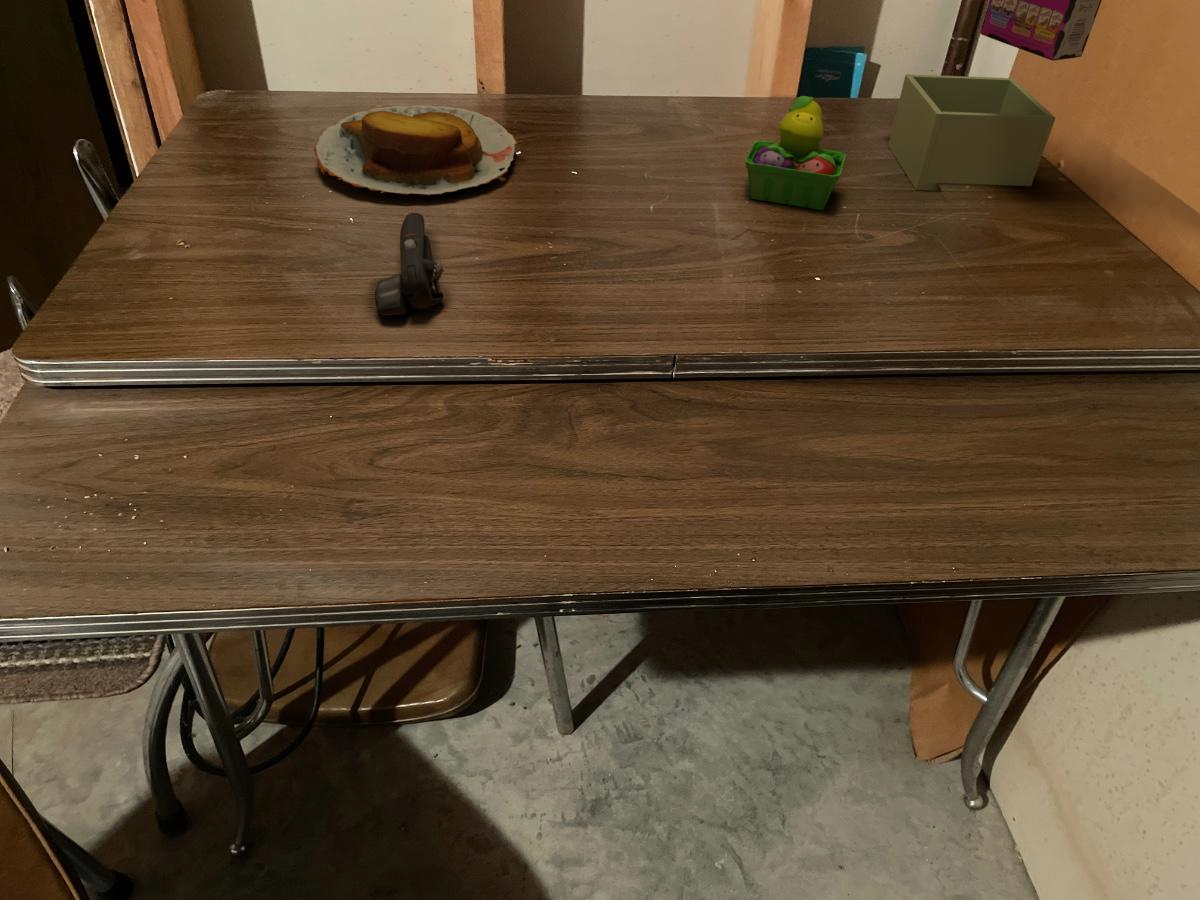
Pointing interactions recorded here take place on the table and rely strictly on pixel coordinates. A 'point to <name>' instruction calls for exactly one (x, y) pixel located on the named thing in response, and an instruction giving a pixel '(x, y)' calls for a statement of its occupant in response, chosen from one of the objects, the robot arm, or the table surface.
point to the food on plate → (415, 149)
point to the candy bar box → (1042, 25)
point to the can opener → (411, 273)
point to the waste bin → (968, 131)
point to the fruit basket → (795, 161)
